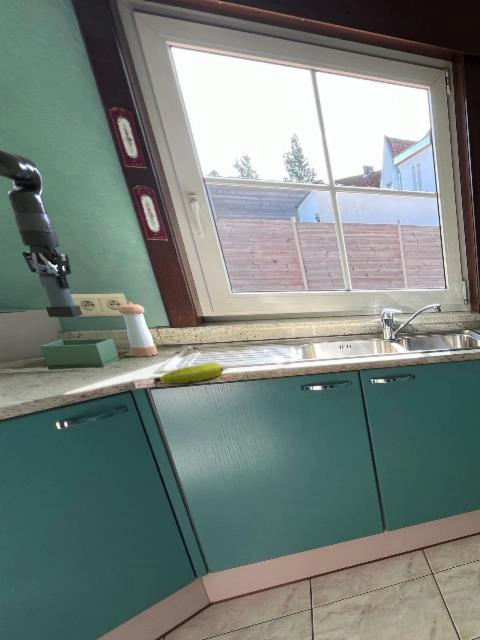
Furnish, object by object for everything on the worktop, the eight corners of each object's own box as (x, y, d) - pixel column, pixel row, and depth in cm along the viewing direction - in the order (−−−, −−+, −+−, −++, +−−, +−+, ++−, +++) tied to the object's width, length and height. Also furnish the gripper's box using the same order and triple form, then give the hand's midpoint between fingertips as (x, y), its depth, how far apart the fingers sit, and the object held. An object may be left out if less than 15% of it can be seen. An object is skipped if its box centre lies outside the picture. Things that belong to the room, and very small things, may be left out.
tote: (48, 369, 158) (39, 346, 155) (68, 361, 169) (60, 339, 166) (103, 367, 163) (96, 344, 161) (119, 359, 175) (112, 338, 172)
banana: (229, 358, 162) (181, 365, 160) (196, 366, 146) (142, 374, 144) (234, 372, 163) (187, 379, 162) (202, 381, 147) (149, 389, 146)
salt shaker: (139, 353, 185) (123, 300, 178) (162, 353, 187) (147, 301, 180) (127, 357, 179) (110, 302, 172) (151, 356, 180) (135, 303, 173)
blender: (49, 317, 153) (33, 272, 148) (58, 315, 157) (43, 272, 153) (73, 317, 155) (59, 273, 150) (82, 314, 160) (68, 272, 155)
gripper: (1, 227, 145) (23, 287, 151) (40, 229, 142) (61, 290, 149) (32, 229, 151) (52, 286, 158) (70, 231, 149) (89, 289, 155)
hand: (56, 288), depth 153 cm, fingers closed on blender, 5 cm apart
